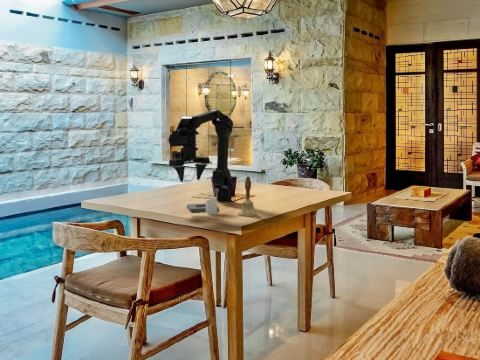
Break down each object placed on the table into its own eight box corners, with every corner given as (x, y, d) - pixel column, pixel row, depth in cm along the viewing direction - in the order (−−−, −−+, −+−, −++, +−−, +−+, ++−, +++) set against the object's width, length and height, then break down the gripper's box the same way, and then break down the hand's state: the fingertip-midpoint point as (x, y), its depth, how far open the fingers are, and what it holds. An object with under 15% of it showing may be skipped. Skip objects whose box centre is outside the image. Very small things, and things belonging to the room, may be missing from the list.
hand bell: (256, 212, 221) (256, 175, 219) (258, 216, 212) (258, 177, 210) (237, 212, 220) (237, 175, 218) (237, 216, 212) (237, 178, 210)
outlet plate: (213, 206, 236) (213, 202, 236) (218, 211, 225) (218, 207, 224) (186, 207, 233) (186, 203, 233) (191, 212, 222) (191, 208, 221)
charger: (215, 212, 222) (214, 198, 221) (216, 213, 218) (216, 199, 218) (205, 212, 221) (205, 198, 220) (207, 214, 217) (207, 200, 217)
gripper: (194, 143, 238) (194, 177, 240) (160, 145, 225) (161, 181, 227) (210, 144, 230) (210, 179, 232) (176, 146, 217) (177, 183, 219)
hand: (190, 181), depth 228 cm, fingers open, 9 cm apart
